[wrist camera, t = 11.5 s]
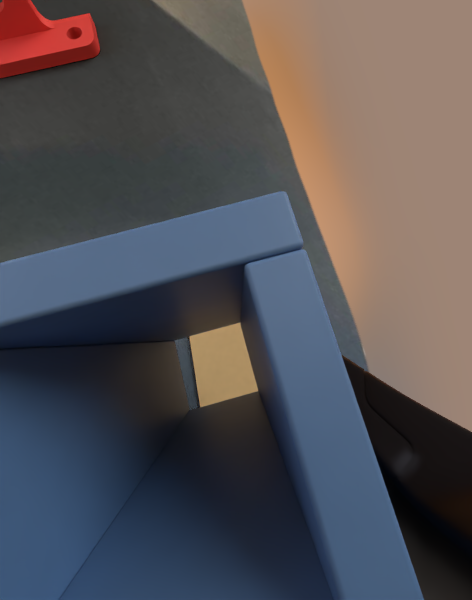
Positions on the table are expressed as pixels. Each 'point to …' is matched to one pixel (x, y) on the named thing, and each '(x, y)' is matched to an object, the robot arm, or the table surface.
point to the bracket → (42, 39)
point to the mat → (222, 365)
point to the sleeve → (185, 425)
